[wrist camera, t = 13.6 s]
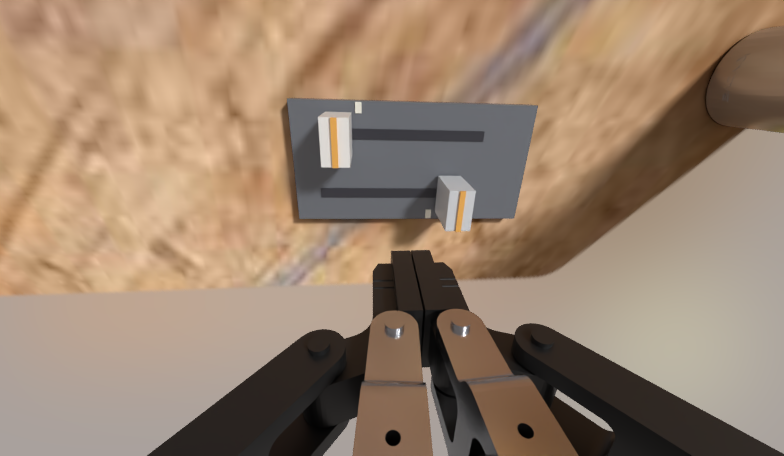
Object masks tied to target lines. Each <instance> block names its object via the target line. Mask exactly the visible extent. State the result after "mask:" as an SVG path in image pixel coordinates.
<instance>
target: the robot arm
mask: <svg viewBox="0 0 784 456" xmlns="http://www.w3.org/2000/svg"><path fill="white" fill-rule="evenodd" d="M706 104H707V109H708V112H709V115H710V116H711V117H712V119H713V120H714V121H716V122H717V123H719V124H721V125H725V126H731V127H739V128H747V129H755V130H764V131H770V132H779V133H784V26H779V27H772V28H767V29H762V30H759V31H757V32H754V33H752V34H750V35H749V36H747V37H746V38H744V39H742V40H741V41H740V42H739V43H737V44H736V45H735V46H734V47H733V48H732V49H731V50H730V51H729V52H728V53H727V54H726V55H725V56H724V57H723V59H722V60H721V62H720V63H719V65H718V66H717V67H716V69H715V71H714V73H713V75H712V77H711V80H710V83H709V86H708V89H707V96H706ZM422 367H430V370H431V375H432V377H431V392H432V396H433V399H434V403H435V406H436V410H437V414H438V417H439V421H440V425H441V428H442V432H443V436H444V439H445V443H446V447H447V450H448V456H784V454H783V453H781V452H779V451H777V450H775V449H773V448H771V447H769V446H768V445H766V444H764V443H762V442H760V441H758V440H757V439H754V438H753V437H751V436H749V435H747V434H746V433H744V432H742V431H740V430H738V429H736V428H734V427H733V426H731V425H729V424H727V423H725V422H723V421H721V420H720V419H718V418H716V417H714V416H712V415H710V414H708V413H706V412H705V411H703V410H701V409H699V408H697V407H695V406H694V405H692V404H690V403H688V402H686V401H684V400H683V399H681V398H679V397H677V396H675V395H673V394H671V393H669V392H668V391H666V390H664V389H662V388H660V387H659V386H657V385H655V384H653V383H651V382H649V381H647V380H645V379H644V378H642V377H640V376H638V375H636V374H634V373H632V372H631V371H629V370H627V369H625V368H623V367H621V366H620V365H618V364H616V363H614V362H612V361H610V360H609V359H607V358H605V357H603V356H601V355H599V354H597V353H595V352H594V351H592V350H590V349H588V348H586V347H584V346H583V345H581V344H579V343H577V342H575V341H573V340H571V339H570V338H568V337H566V336H564V335H562V334H560V333H559V332H556V331H555V330H553V329H551V328H549V327H546V326H543V325H540V324H531V323H530V324H524V325H521V326H519V327H518V328H517V330H516V332H515V335H512V334H508V333H503V332H498V331H494V330H491V329H488V328H486V326H485V325H484V323H483V321H482V320H481V319H480V318H479V317H478V316H477V315H475V314H474V313H472V312H470V311H469V309H468V306H467V304H466V302H465V300H464V297H463V295H462V292H461V290H460V288H459V287H458V283H457V281H456V279H455V276H454V274H453V271H452V269H451V268H449V267H448V266H447V265H446V264H445V263H444V262H440V263H434V261H433V258H432V255H431V252H430V250H415V251H411V252H410V251H391V264H378V265H377V266H376V268H375V269H374V270H373V320H372V323H371V324H370V326H369V327H368V328H367V329H366V330H365V331H363V332H362V333H360V334H358V335H355V336H352V337H349V338H346V339H344V338H343V337H342V336H341V335H340V334H339V333H337V332H335V331H332V330H326V329H325V330H324V329H322V330H316V331H312V332H309V333H307V334H306V335H304V336H302V337H301V338H300V339H298V340H297V341H296V342H295V343H293V344H292V345H290V347H288V348H287V349H285V350H284V351H283V352H281V353H280V354H279V355H277V356H276V357H275V358H274V359H272V360H271V361H270V362H268V363H267V364H266V365H265V366H263V367H262V368H261V369H259V370H258V371H257V372H255V373H254V374H253V375H251V376H250V377H249V378H248V379H246V380H245V381H244V382H242V383H241V384H240V385H238V386H237V387H236V388H235V389H233V390H232V391H231V392H229V393H228V394H227V395H225V396H224V397H223V398H221V399H220V400H219V401H218V402H216V403H215V404H214V405H212V406H211V407H210V408H208V409H207V410H206V411H205V412H203V413H202V414H201V415H200V416H198V417H197V418H195V419H194V420H193V421H192V422H190V423H189V424H188V425H186V426H185V427H184V428H182V429H181V430H180V431H179V432H177V433H176V434H175V435H173V436H172V437H171V438H169V439H168V440H167V441H165V442H164V443H163V444H162V445H160V446H159V447H158V448H156V449H155V450H154V451H152V452H151V453H150V454H149V455H147V456H323V454H324V453H325V452H326V451H327V450H328V448H329V447H330V446H331V444H333V442H334V441H335V440H336V439H337V438H338V436H339V435H340V434H341V433H342V431H343V430H344V429H345V428H346V426H347V424H348V422H349V419H352V418H355V417H357V423H356V431H355V439H354V448H353V456H433V451H432V440H431V430H430V419H429V408H428V398H427V389H426V383H423V376H422ZM557 389H558V390H559V391H561V392H562V393H564V394H565V395H567V396H568V397H570V398H571V399H573V400H574V401H576V402H577V403H579V404H580V405H582V406H583V407H585V408H586V409H588V410H589V411H591V412H593V413H594V414H595V415H597V416H598V417H600V418H602V419H603V420H604V421H606V423H608V424H609V426H610V427H611V428H612V429H613V431H614V432H612V431H607V430H605V429H603V428H601V427H600V426H598V425H597V424H595V423H594V422H592V421H591V420H589V419H588V418H586V417H585V416H583V415H582V414H581V413H579V412H578V411H576V410H575V409H573V408H572V407H570V406H569V405H567V404H566V403H564V402H563V401H561V400H560V399H558V398H557V397H555V393H556V391H557Z"/></svg>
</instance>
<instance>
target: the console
mask: <svg viewBox="0 0 784 456" xmlns="http://www.w3.org/2000/svg"><path fill="white" fill-rule="evenodd" d="M287 104H288V114H289V123H290V133H291V142H292V152H293V162H294V171H295V181H296V190H297V200H298V209H299V219H439V218H438V216H437V215H436V213H435V204H436V193H437V183H438V176H461V177H462V178H463V179H464V180H465V181H466V182H467V183H468V184H469V185H470V186H471V187H472V188H473V189H474V190H475V191H476V194H475V201H474V207H473V214H472V219H477V218H514V216H515V211H516V207H517V202H518V197H519V193H520V188H521V183H522V179H523V174H524V169H525V165H526V160H527V155H528V151H529V146H530V141H531V137H532V132H533V127H534V123H535V118H536V113H537V108H538V106H536V105H522V104H487V103H451V102H416V101H381V100H345V99H310V98H288V99H287ZM324 112H351V117H352V160H351V165H350V168H330V167H321V156H320V142H319V127H318V117H319V116H320V115H321V114H323V113H324Z"/></svg>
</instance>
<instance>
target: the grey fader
mask: <svg viewBox="0 0 784 456" xmlns="http://www.w3.org/2000/svg"><path fill="white" fill-rule="evenodd" d="M475 194H476V191H475V190H474V189H473V188H472V187H471V186H470V185H469V184H468V183H467V182H466V181H465V180H464V179H463V178H462V177H461V176H438V183H437V193H436V204H435V213H436V215H437V216H438V218H439V220H440V222H441V224H442V226H443V228H444V230H445V231H455V232H461V231H470V227H471V220H472V214H473V207H474V201H475Z"/></svg>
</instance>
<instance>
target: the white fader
mask: <svg viewBox="0 0 784 456" xmlns="http://www.w3.org/2000/svg"><path fill="white" fill-rule="evenodd" d="M318 127H319V142H320V156H321V167H330V168H350V165H351V160H352V117H351V112H324V113H323V114H321V115H320V116H319V117H318Z"/></svg>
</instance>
